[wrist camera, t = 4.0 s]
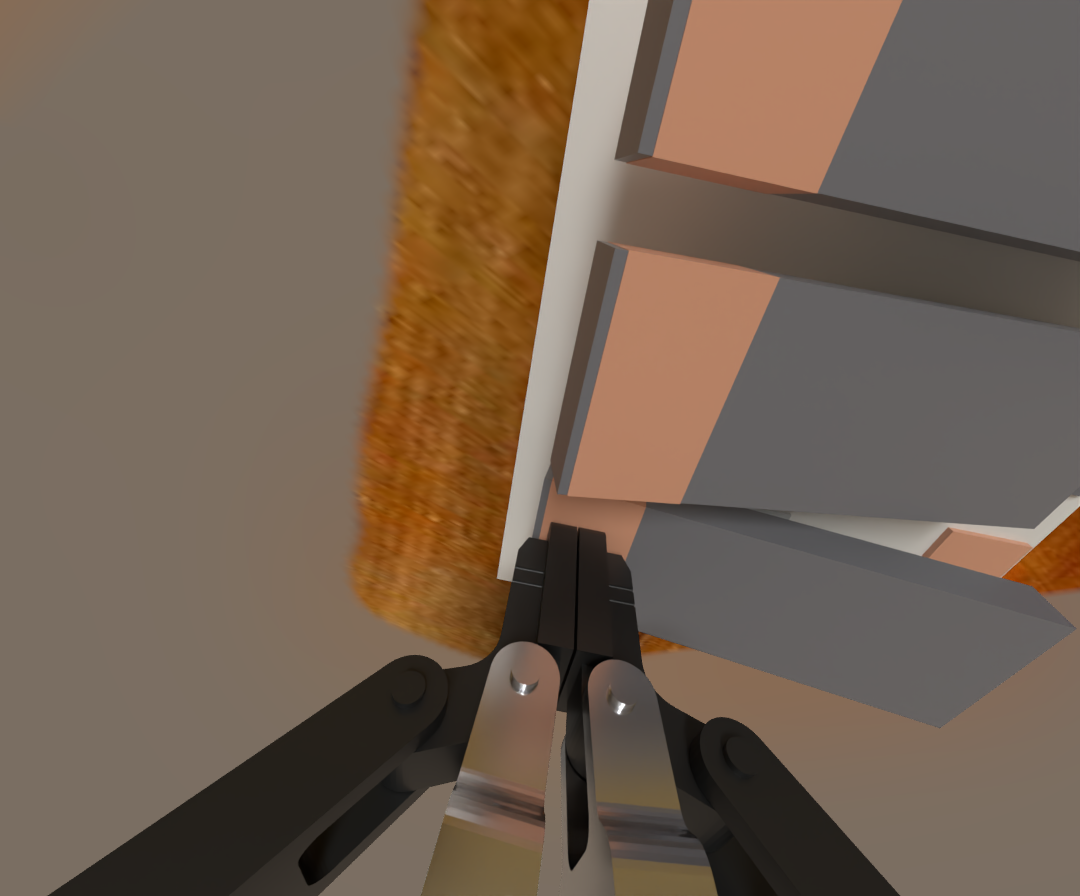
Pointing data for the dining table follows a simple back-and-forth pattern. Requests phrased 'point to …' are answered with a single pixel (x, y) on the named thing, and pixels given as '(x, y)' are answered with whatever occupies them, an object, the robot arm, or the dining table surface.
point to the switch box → (764, 244)
